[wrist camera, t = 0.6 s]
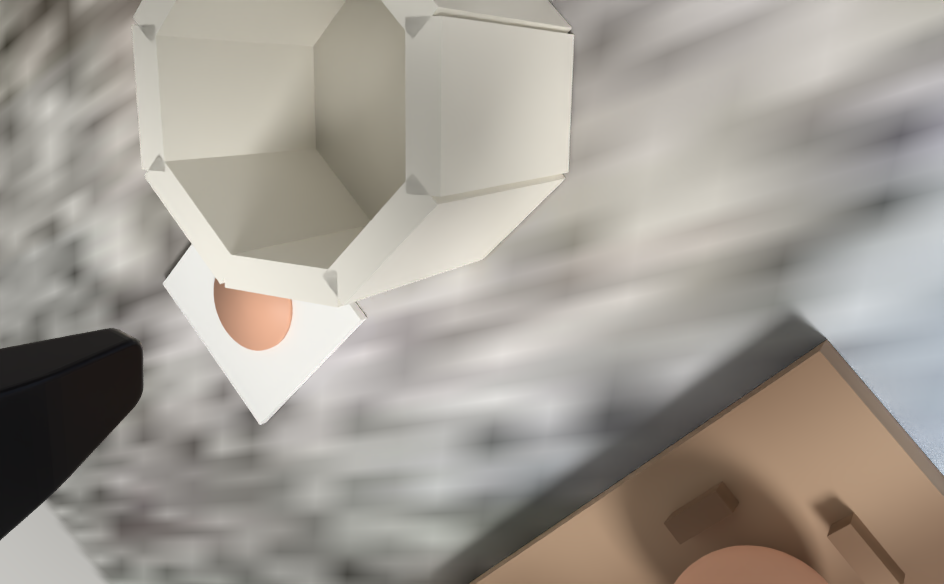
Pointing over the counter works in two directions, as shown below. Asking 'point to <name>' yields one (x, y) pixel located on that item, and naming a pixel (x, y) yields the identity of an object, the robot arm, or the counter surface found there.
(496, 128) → the cup
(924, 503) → the stand
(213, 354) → the tile
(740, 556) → the ball terracotta
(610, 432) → the counter surface
